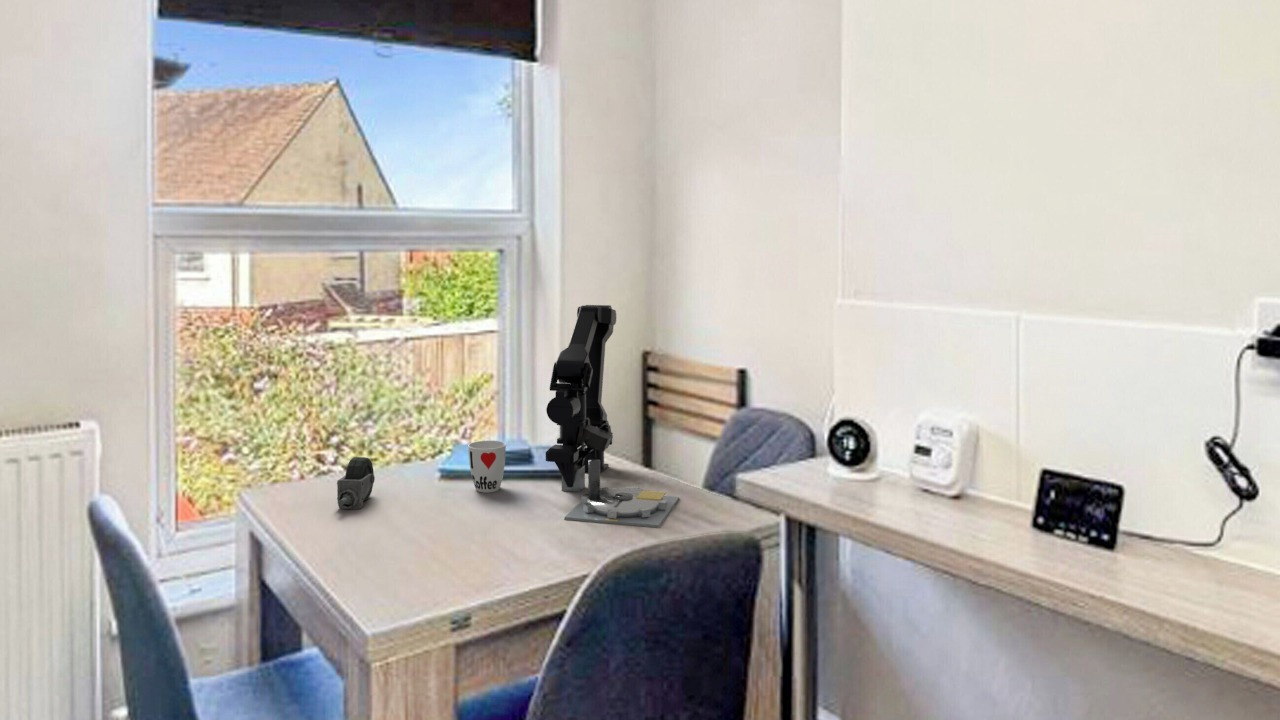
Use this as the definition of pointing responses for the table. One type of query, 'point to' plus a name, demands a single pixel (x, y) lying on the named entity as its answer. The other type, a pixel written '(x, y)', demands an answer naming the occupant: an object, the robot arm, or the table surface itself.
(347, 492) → the caster wheel
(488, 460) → the cup
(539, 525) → the table surface
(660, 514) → the base plate
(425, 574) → the table surface
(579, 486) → the link block
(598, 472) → the sprocket
